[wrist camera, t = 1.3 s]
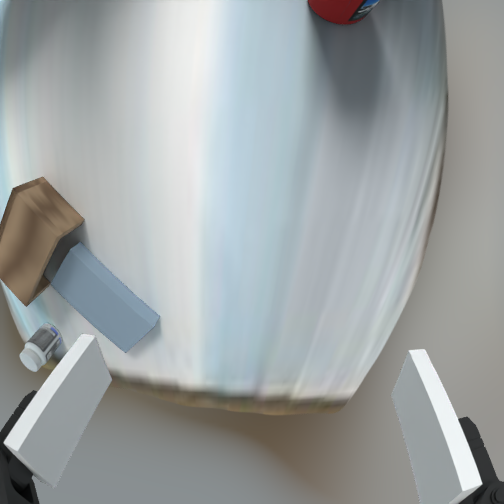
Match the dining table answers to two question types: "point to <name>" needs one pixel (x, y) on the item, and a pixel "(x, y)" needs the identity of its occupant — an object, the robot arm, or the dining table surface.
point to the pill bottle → (40, 347)
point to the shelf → (32, 236)
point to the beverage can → (342, 9)
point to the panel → (103, 298)
